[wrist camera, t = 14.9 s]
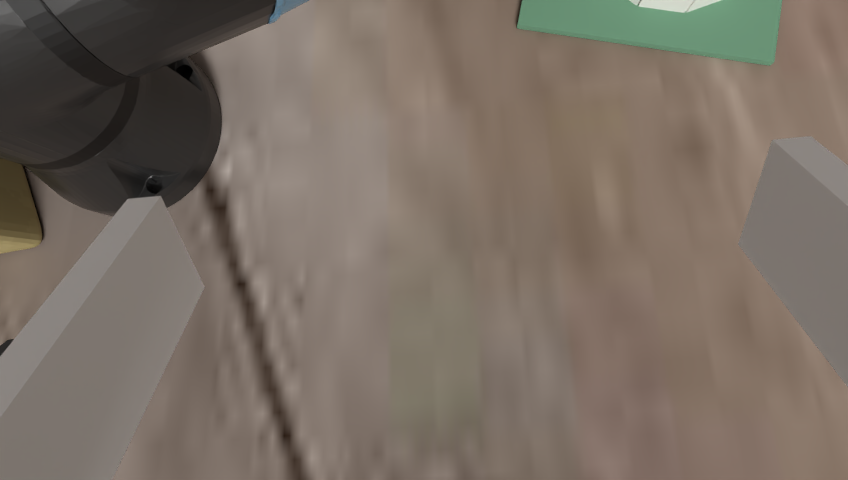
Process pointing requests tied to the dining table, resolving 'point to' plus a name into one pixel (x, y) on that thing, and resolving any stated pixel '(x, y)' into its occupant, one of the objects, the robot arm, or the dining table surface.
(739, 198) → the dining table surface
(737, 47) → the putting mat
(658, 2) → the white round plate
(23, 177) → the cheese
